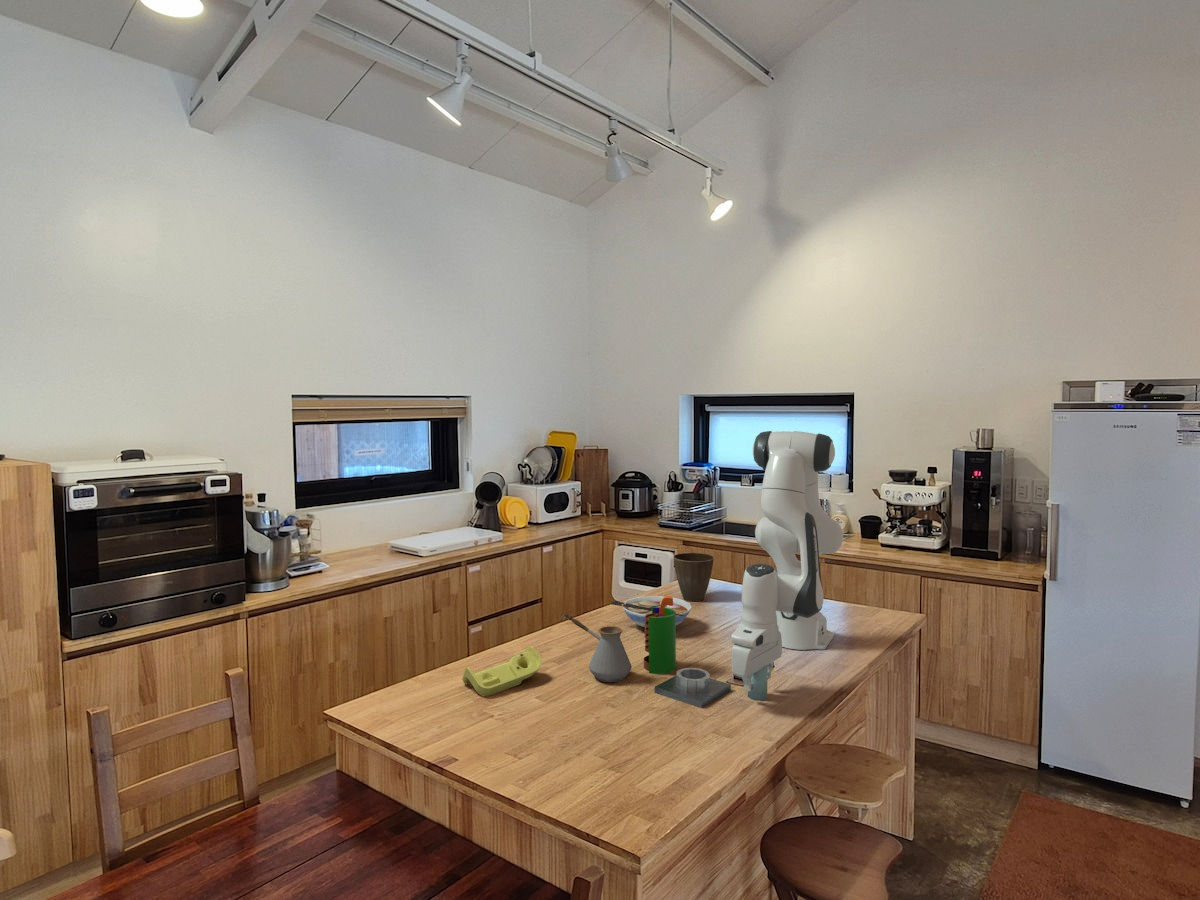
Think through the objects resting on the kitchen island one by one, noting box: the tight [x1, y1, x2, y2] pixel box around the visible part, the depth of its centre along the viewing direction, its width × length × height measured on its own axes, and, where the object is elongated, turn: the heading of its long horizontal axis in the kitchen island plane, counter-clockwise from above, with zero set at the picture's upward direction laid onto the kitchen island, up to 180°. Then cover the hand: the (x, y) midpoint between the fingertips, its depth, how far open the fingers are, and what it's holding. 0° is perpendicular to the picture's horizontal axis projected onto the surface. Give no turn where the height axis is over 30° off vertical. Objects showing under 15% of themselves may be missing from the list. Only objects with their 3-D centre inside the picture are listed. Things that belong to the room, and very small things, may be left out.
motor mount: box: [654, 667, 732, 709], centre depth 183 cm, size 14×14×4 cm
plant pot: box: [673, 552, 715, 603], centre depth 267 cm, size 15×15×16 cm
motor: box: [643, 595, 677, 675], centre depth 198 cm, size 10×9×20 cm
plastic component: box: [461, 645, 543, 697], centre depth 188 cm, size 20×7×10 cm
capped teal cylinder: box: [747, 665, 769, 701], centre depth 180 cm, size 5×5×10 cm
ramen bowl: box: [611, 595, 692, 628], centre depth 234 cm, size 25×23×8 cm
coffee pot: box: [560, 612, 632, 683], centre depth 194 cm, size 21×12×15 cm, turn 58°
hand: (757, 684), depth 180 cm, fingers open, 8 cm apart
